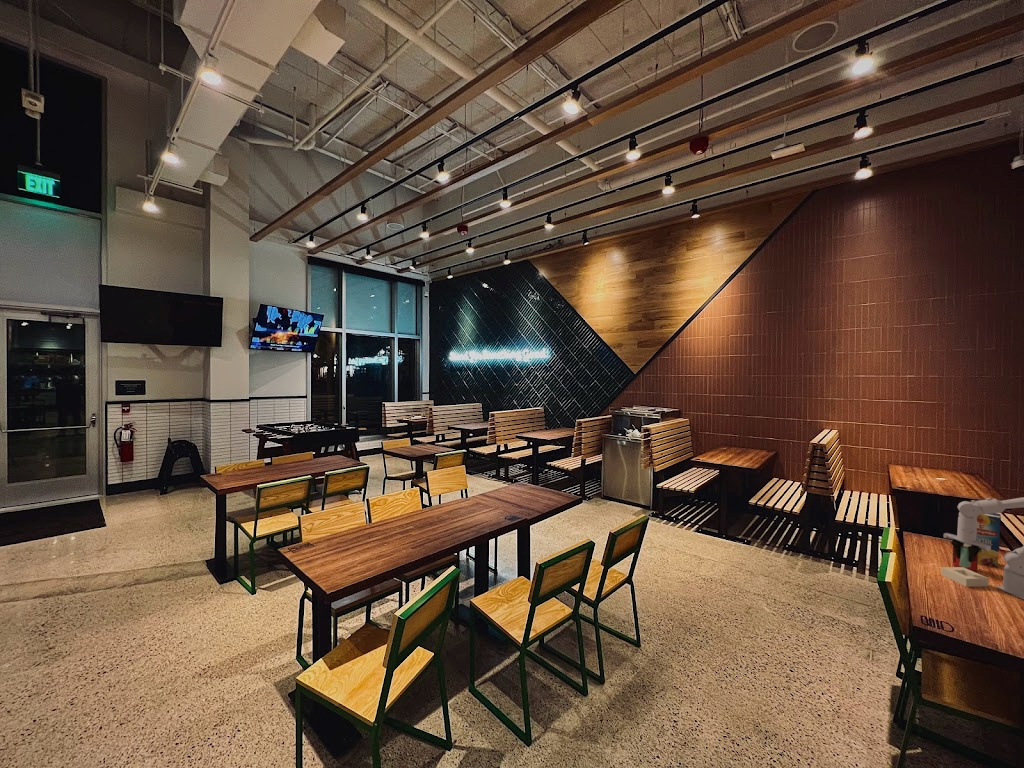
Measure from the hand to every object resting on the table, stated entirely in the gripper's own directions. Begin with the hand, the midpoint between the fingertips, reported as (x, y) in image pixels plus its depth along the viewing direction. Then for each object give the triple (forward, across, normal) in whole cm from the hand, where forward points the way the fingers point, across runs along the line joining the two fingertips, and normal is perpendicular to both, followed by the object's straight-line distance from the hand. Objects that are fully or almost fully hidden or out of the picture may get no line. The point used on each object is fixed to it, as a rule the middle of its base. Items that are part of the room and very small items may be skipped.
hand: (965, 559), depth 185 cm
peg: (+3, 0, 0) cm, 3 cm away
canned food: (+9, +6, -16) cm, 20 cm away
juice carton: (+10, +8, -31) cm, 33 cm away
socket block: (+9, 0, 0) cm, 9 cm away
